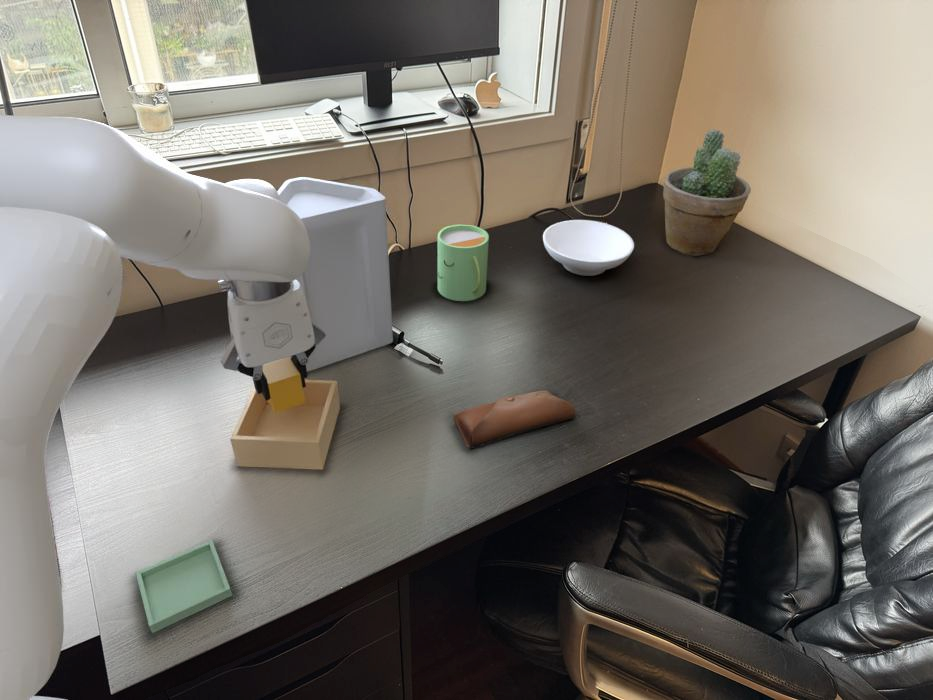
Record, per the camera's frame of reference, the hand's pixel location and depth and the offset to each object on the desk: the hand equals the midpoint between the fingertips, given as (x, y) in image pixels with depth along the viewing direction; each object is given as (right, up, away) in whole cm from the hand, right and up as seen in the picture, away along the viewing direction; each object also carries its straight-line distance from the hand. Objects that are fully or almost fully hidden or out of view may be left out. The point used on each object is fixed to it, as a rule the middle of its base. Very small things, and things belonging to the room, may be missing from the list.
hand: (282, 387), depth 91 cm
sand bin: (0, -8, +6) cm, 10 cm away
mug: (+26, +17, +40) cm, 51 cm away
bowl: (+52, +24, +50) cm, 76 cm away
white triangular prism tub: (+1, +8, +26) cm, 27 cm away
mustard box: (0, -2, +1) cm, 2 cm away
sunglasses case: (+34, -6, +10) cm, 36 cm away
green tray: (-7, -23, -15) cm, 29 cm away
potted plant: (+80, +30, +60) cm, 104 cm away
